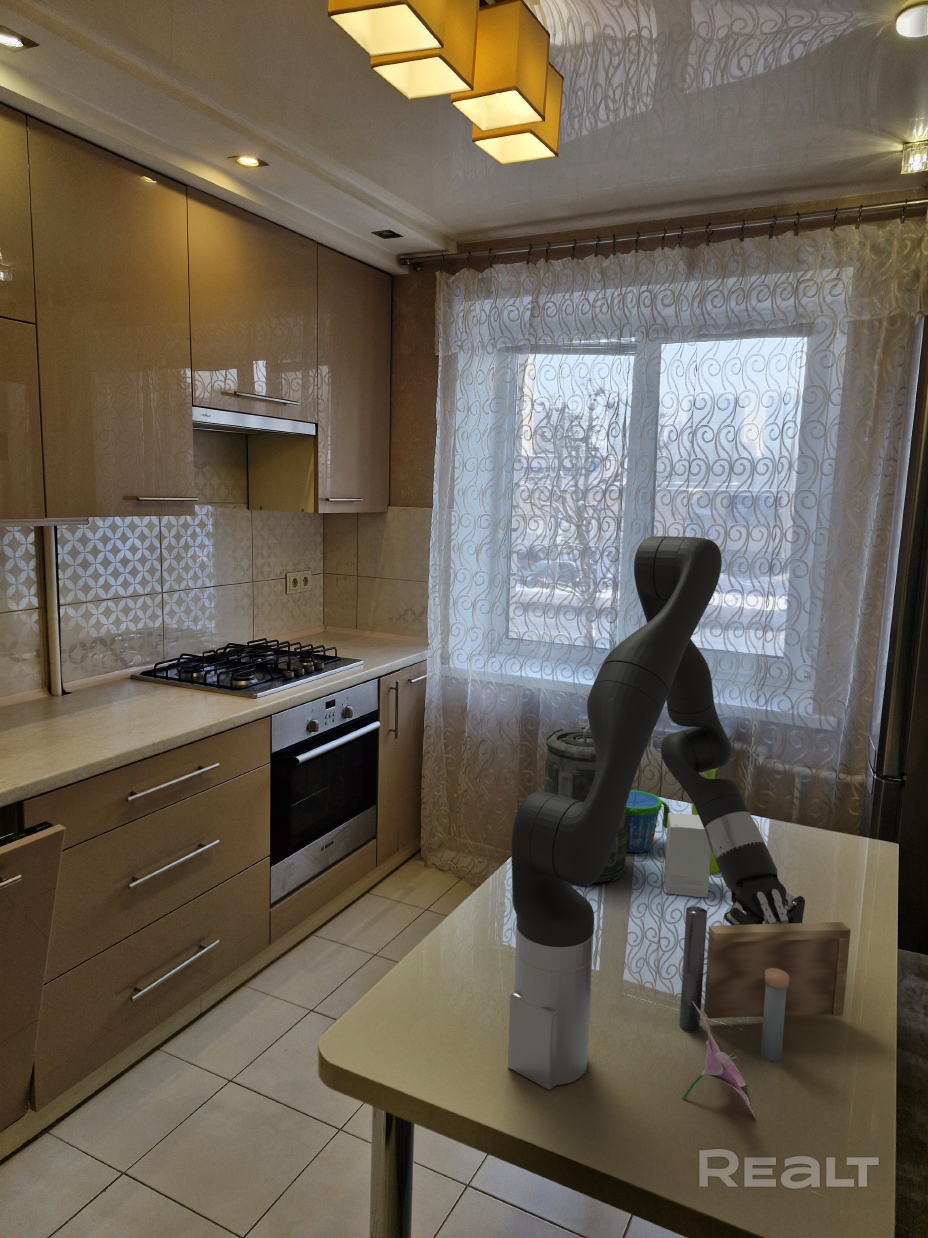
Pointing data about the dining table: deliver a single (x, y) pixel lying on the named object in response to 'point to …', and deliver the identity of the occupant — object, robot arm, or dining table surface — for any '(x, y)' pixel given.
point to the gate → (794, 948)
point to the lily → (720, 1067)
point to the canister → (580, 784)
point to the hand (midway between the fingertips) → (793, 974)
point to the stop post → (774, 1013)
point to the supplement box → (686, 856)
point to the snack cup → (643, 820)
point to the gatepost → (693, 968)
